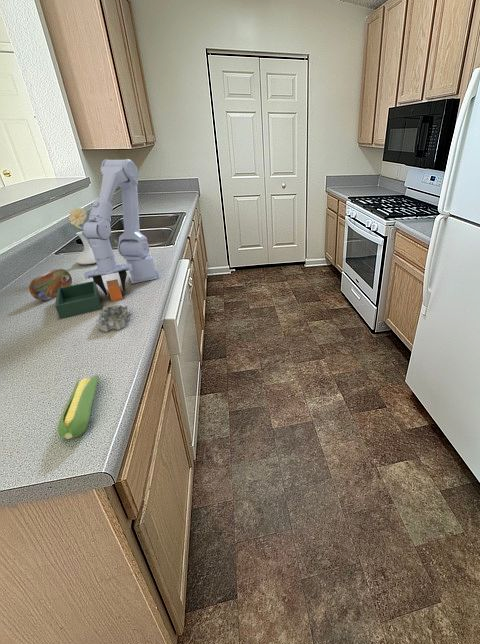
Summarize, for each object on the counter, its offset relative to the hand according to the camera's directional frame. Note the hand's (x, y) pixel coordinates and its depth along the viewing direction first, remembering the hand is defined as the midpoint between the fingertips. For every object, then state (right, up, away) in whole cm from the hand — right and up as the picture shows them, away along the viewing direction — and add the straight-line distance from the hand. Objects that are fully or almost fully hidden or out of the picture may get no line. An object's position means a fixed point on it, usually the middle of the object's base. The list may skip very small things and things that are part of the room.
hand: (115, 292), depth 118 cm
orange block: (0, -1, +1) cm, 1 cm away
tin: (-23, -1, +3) cm, 24 cm away
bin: (-9, -4, -4) cm, 11 cm away
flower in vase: (-28, +14, +32) cm, 44 cm away
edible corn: (+20, -25, -47) cm, 57 cm away
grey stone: (+9, -10, -16) cm, 20 cm away
